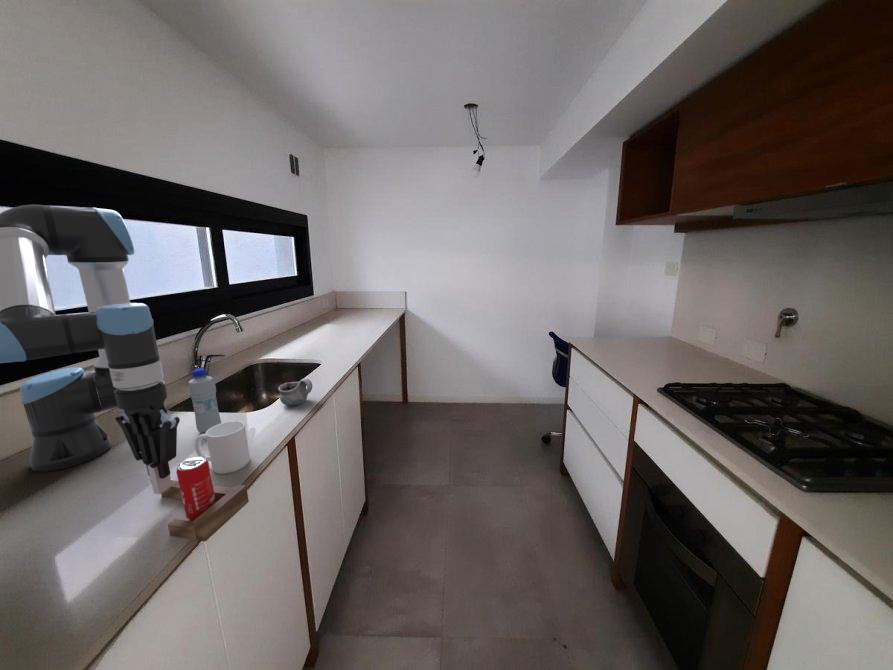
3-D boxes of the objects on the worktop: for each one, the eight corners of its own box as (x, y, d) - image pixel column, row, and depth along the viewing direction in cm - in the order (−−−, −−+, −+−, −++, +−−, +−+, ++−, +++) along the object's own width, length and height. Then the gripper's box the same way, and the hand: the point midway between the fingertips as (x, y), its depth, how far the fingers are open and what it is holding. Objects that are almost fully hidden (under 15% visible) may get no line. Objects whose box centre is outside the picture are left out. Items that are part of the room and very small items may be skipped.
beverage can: (205, 524, 70) (194, 471, 67) (180, 523, 70) (168, 470, 67) (222, 505, 75) (213, 455, 72) (199, 504, 75) (189, 454, 72)
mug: (290, 398, 133) (287, 372, 130) (321, 399, 131) (319, 373, 129) (274, 409, 123) (271, 381, 121) (308, 410, 121) (305, 382, 119)
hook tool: (117, 527, 70) (113, 509, 69) (170, 491, 80) (166, 475, 79) (205, 541, 66) (201, 523, 65) (248, 501, 76) (246, 485, 75)
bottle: (191, 434, 106) (179, 371, 102) (213, 424, 112) (202, 364, 108) (206, 438, 104) (194, 373, 99) (228, 428, 110) (217, 366, 105)
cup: (240, 473, 86) (234, 435, 84) (189, 477, 85) (181, 438, 83) (255, 455, 94) (250, 420, 92) (208, 457, 93) (202, 422, 91)
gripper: (90, 388, 66) (118, 497, 72) (147, 394, 63) (172, 506, 69) (132, 375, 73) (155, 475, 79) (185, 379, 71) (204, 482, 76)
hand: (163, 489), depth 74 cm, fingers closed
